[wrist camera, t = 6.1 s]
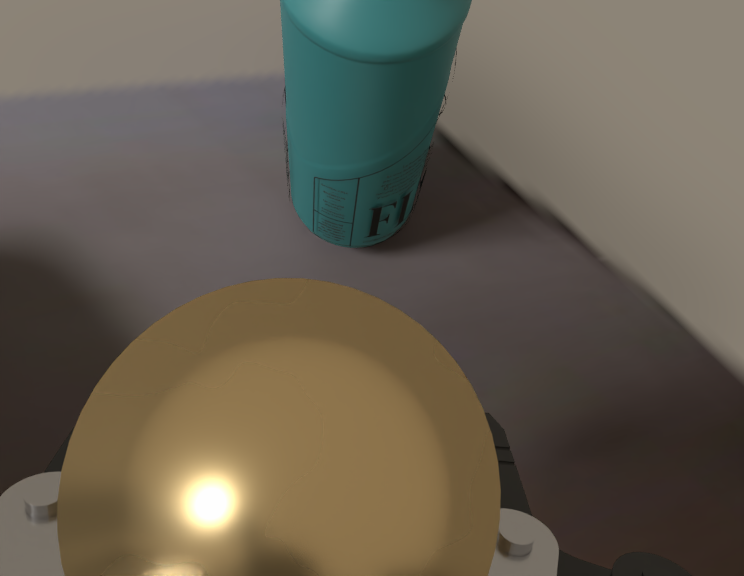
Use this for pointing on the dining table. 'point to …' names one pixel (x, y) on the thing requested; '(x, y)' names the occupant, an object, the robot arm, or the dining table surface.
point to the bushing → (281, 445)
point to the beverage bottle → (363, 108)
